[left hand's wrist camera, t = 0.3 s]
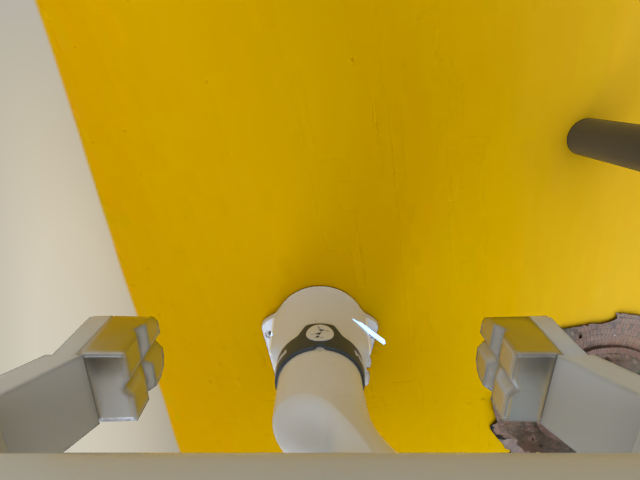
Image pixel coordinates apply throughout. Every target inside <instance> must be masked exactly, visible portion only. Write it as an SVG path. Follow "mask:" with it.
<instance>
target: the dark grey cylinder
mask: <svg viewBox="0 0 640 480" xmlns="http://www.w3.org/2000/svg"><path fill="white" fill-rule="evenodd" d="M567 144H568V147H569V149H570V150H571V151H572V152H573V153H575V154H578V155H582V156H585V157H589V158H593V159H596V160H600V161H604V162H607V163H611V164H614V165H618V166H622V167H625V168H629V169H632V170H636V171H640V125H639V124H632V123H624V122H616V121H608V120H601V119H593V118H586V119H583V120H581V121H579V122H577V123H576V124H575V125H574V126H573V127H572V128H571V129H570V131H569V133H568V137H567Z"/></svg>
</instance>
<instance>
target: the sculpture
mask: <svg viewBox="0 0 640 480" xmlns="http://www.w3.org/2000/svg"><path fill="white" fill-rule="evenodd" d="M616 314H617V319H615V320H613V321H611V322H607V323H603V324H595V323H594V324H589V326H586V325H583V326H581V327H579V326H578V327H571V328H569V329H568V328H566V329H563V330H564V331H565V332H566V333H567V334H568V335H569V336H570V337H571V338H572V339H573V340H574V341H575V342H576V343H577V344H578V345H579V346H580V347H581V348H582V349H583V350H584V351H585V352H586V353H587V354H588V355H596V356H598V357H601V358H603V359H605V360H607V361H609V362H612V363H614V364H616V365H618V366H620V367H623V368H625V369H627V370H629V371H632V372H634V373H636V374H638V375H640V316H638V315H629V314H623V313H622V314H620V313H616ZM579 335H582V338H581V339H579ZM493 408H494V413H495V416H496V419H497V423H496V424H493V425H491V426H490V428H491V430H492V432H493V433H494V434H495V436H496V437H497V438H498V439H499V440H500V441H501V442H502V443H503V444H504V447H505V448H506V449H509V450H511V453H536V452H540V453H577V452H576V451H574V450H573V449H572V448H571V447H569V446H568V445H567V444H565V443H564V442H563V441H562V440H560V439H559V438H558V437H557V436H555V435H554V434H553V433H552V432H550V431H549V430H548V429H547V428H545V427H544V426H543V425H541V424H540V422H530V421H502V419H501V417H500V415H499V413H498V411H497V410H496V408H495V406H494V404H493ZM532 438H533V439H534V441H533V440H532ZM540 445H542V447H540Z"/></svg>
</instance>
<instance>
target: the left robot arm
mask: <svg viewBox="0 0 640 480" xmlns="http://www.w3.org/2000/svg"><path fill="white" fill-rule="evenodd" d="M262 331H263V334H264V338H265V341H266V345H267V348H268V351H269V355H270V358H271V362H272V365H273V368H274V372H275V387H276V398H275V405H274V413H273V420H272V426H273V432H274V436H275V439H276V441H277V443H278V445H279V446H280V448H281V449H282V451H283V452H284V453H63V452H64V451H66V450H67V449H68V448H70V447H71V446H72V445H73V444H75V443H76V442H77V441H78V440H80V439H81V438H82V437H84V436H85V435H86V434H87V433H89V432H90V431H91V430H92V429H94V428H95V427H96V426H97V425H99V423H100V422H109V421H137V420H138V419H139V417H140V415H141V413H142V412H143V410H144V408H145V406H146V404H147V402H148V400H149V395H148V391H149V390H151V389H152V388H154V387H155V386H157V384H158V382H159V380H160V378H161V375H162V370H163V366H164V354H163V348H162V346H161V345H160V344H159V343H158V342H157V341H156V340H155V339H156V338H157V336H158V334H159V333H160V330H159V325H158V321H157V320H156V319H155V318H154V317H134V316H93V317H89V318H88V320H86V321H85V322H84V323H83V324H82V325H81V326H80V327H79V328H78V329H77V330H76V331H75V332H74V333H73V334H72V336H70V337H69V338H68V339H67V340H66V341H65V342H64V343H63V344H62V345H61V346H60V347H59V348H58V349H57V350H56V351H55V352H54V353H53V355H44V356H42V357H39V358H37V359H35V360H33V361H31V362H28V363H26V364H24V365H22V366H20V367H17V368H15V369H13V370H11V371H9V372H6V373H4V374H2V375H0V480H640V375H638V374H636V373H634V372H632V371H629V370H627V369H625V368H623V367H620V366H618V365H616V364H614V363H612V362H609V361H607V360H605V359H603V358H601V357H598V356H596V355H588V354H587V353H586V352H585V351H584V350H583V349H582V348H581V347H580V346H579V345H578V344H577V343H576V342H575V341H574V340H573V339H572V338H571V337H570V336H569V335H568V334H567V333H566V332H565V331H564V330H563V329H562V328H561V327H560V326H559V325H558V324H557V323H556V322H555V321H554V320H553V319H552V318H550V317H548V316H525V317H488V318H484V320H483V322H482V324H481V330H480V333H481V334H482V336H483V338H484V339H485V340H484V341H483V342H482V343H481V344H480V345H479V346H478V348H477V355H476V364H477V371H478V375H479V378H480V380H481V382H482V384H483V386H485V387H486V388H488V389H489V390H491V391H492V395H491V401H492V402H493V404H494V406H495V408H496V410H497V411H498V413H499V415H500V417H501V419H502V421H530V422H540V424H541V425H543V426H544V427H545V428H547V429H548V430H549V431H550V432H552V433H553V434H554V435H555V436H557V437H558V438H559V439H560V440H562V441H563V442H564V443H565V444H567V445H568V446H569V447H571V448H572V449H573V450H574V451H576V452H577V453H397V452H396V451H395V450H394V449H393V448H392V447H391V446H390V445H389V444H388V443H387V442H386V441H385V440H384V439H383V438H382V436H381V435H380V434H379V433H378V431H377V430H376V428H375V427H374V425H373V423H372V421H371V419H370V416H369V413H368V409H367V405H366V401H365V396H364V387H365V385H368V383H369V371H368V370H366V369H367V367H370V366H371V358H370V355H371V351H372V348H373V345H374V341H375V338H376V339H377V340H379V341H380V342H381V343H383V344H385V340H384V339H383V338H381V337H380V336H379V335H377V331H378V322H377V320H376V319H374V318H373V317H371V316H370V315H368V314H366V313H365V312H364V311H363V310H362V309H361V308H360V306H359V305H358V304H357V302H356V301H355V300H354V299H353V298H352V297H351V296H349V295H348V294H346V293H345V292H343V291H341V290H338V289H335V288H332V287H326V286H314V287H308V288H305V289H302V290H299V291H297V292H295V293H294V294H292V295H291V296H289V297H288V298H287V299H286V300H285V301H284V302H283V304H282V305H281V306H280V308H279V309H278V310H277V312H275V313H274V314H272V315H270V316H269V317H267V318H266V319H264V320H263V322H262ZM269 331H271V333H270V332H269Z"/></svg>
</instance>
